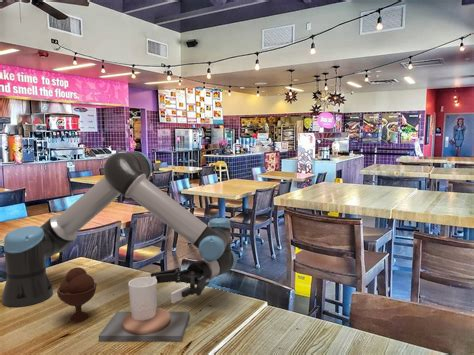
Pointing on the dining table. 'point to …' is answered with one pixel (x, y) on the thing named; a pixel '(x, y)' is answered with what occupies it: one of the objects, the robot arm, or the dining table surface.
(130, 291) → the white cup
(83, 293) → the ice cream bowl
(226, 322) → the dining table surface
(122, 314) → the serving stand
